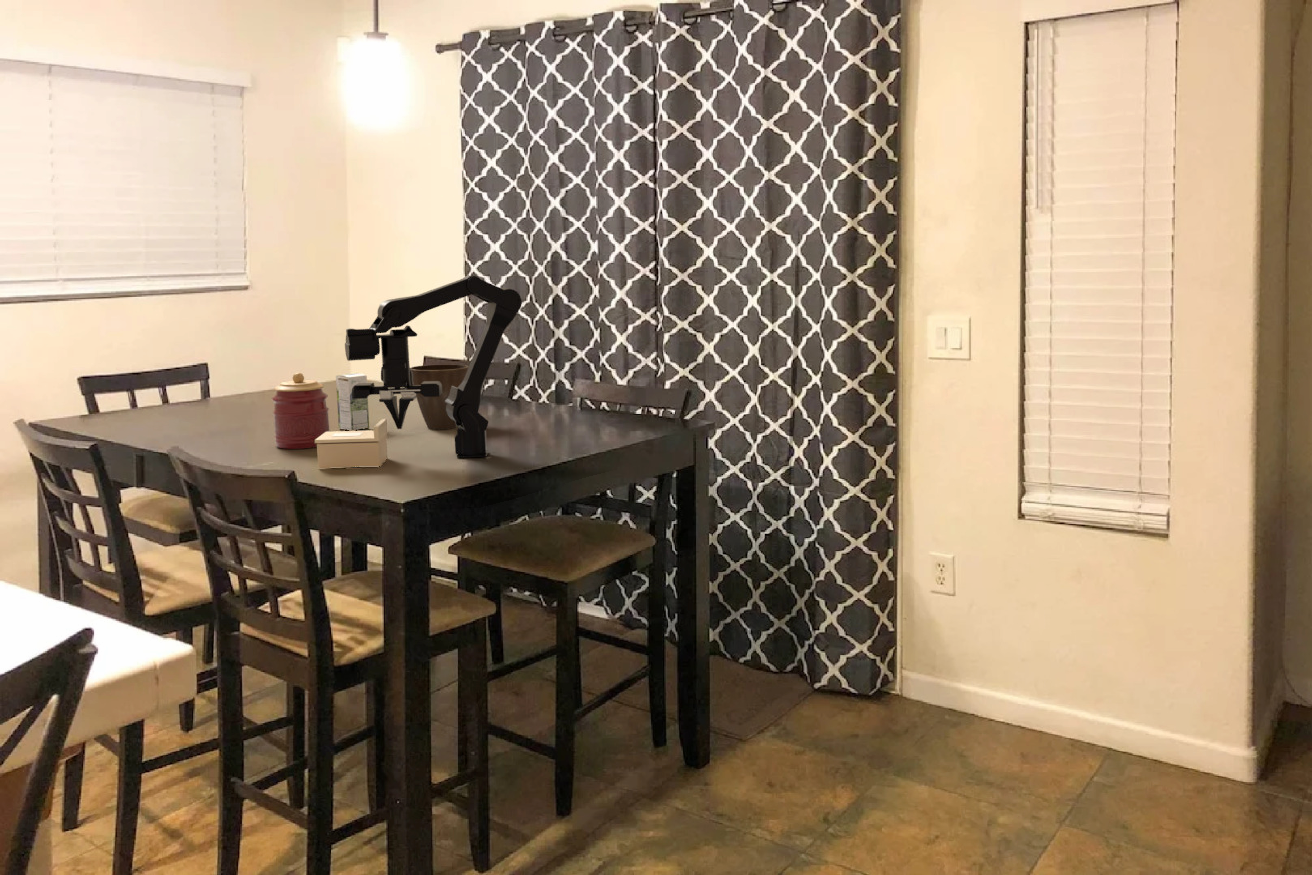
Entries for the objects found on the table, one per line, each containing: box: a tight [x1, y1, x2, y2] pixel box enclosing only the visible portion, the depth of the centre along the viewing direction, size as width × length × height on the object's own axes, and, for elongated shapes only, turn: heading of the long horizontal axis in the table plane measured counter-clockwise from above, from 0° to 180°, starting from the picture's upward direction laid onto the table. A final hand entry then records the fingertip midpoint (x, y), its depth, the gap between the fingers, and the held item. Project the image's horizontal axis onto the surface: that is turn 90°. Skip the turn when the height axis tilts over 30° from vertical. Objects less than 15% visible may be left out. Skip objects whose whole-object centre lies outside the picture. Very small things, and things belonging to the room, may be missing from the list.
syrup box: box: [335, 372, 370, 431], centre depth 287 cm, size 6×6×14 cm
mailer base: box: [316, 434, 388, 469], centre depth 242 cm, size 13×10×6 cm
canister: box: [271, 372, 331, 450], centre depth 266 cm, size 13×13×18 cm
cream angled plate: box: [315, 418, 389, 443], centre depth 241 cm, size 14×11×3 cm
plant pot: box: [410, 363, 469, 430], centre depth 288 cm, size 15×15×16 cm
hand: (399, 428), depth 242 cm, fingers closed
